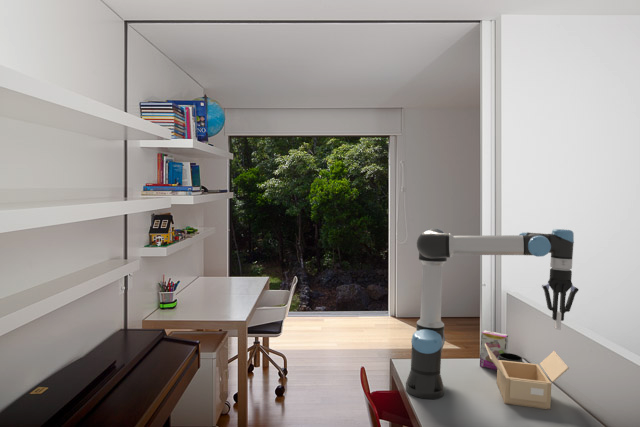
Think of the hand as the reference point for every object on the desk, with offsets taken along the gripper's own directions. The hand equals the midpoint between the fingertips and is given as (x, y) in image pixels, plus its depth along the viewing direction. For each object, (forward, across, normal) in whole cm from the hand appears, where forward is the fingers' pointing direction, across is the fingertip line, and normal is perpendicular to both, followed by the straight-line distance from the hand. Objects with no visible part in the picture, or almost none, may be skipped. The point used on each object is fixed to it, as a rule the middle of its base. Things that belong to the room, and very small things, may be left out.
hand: (557, 328), depth 176 cm
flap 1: (+15, -23, 0) cm, 27 cm away
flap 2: (+15, -1, 0) cm, 15 cm away
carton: (+28, -12, 0) cm, 31 cm away
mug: (+29, -12, +20) cm, 37 cm away
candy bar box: (+29, -19, +28) cm, 44 cm away
